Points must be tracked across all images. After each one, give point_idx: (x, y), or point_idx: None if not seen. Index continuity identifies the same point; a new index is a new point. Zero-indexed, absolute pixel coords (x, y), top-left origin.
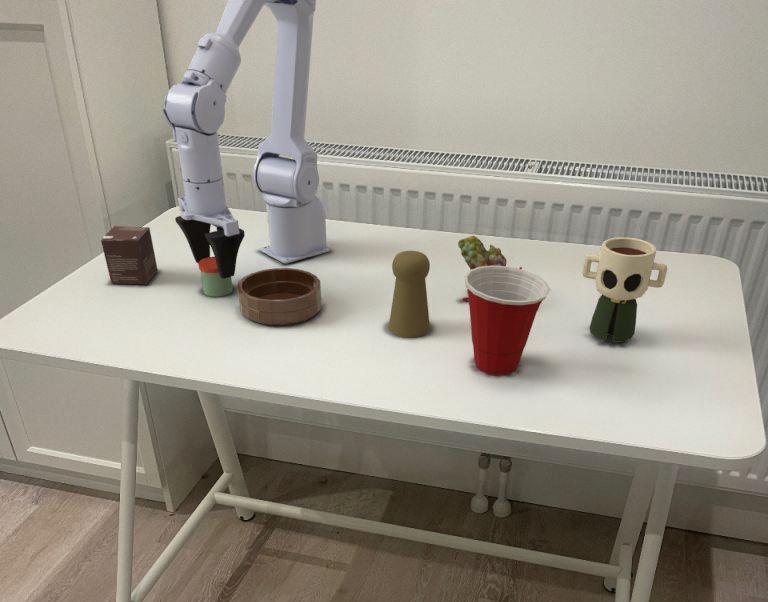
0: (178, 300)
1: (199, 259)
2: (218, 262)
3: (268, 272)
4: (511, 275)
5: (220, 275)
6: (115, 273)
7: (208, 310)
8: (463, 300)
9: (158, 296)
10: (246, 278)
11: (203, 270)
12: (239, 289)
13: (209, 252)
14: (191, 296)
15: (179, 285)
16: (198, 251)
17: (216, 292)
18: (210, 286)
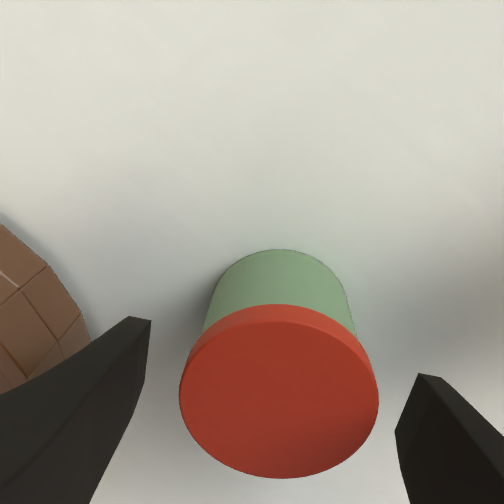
0: (351, 116)
1: (420, 398)
2: (69, 362)
3: None
4: None
5: (139, 323)
6: None
7: (135, 139)
8: None
9: (488, 75)
10: (5, 377)
11: (271, 309)
12: None
13: (403, 475)
14: (333, 194)
15: (486, 242)
16: (438, 439)
17: (227, 275)
18: (248, 276)
